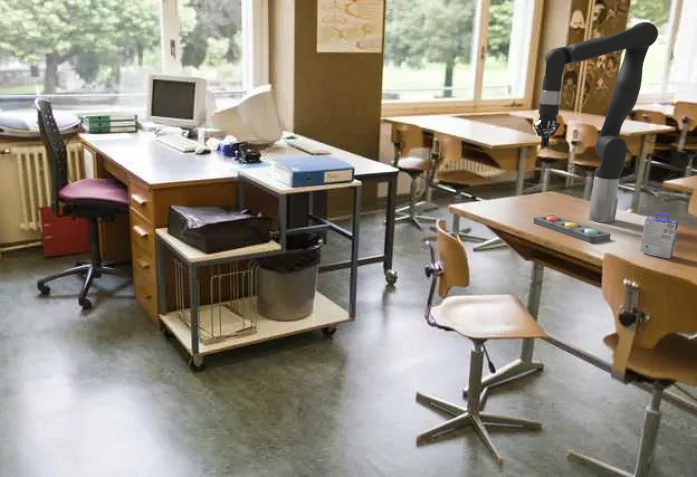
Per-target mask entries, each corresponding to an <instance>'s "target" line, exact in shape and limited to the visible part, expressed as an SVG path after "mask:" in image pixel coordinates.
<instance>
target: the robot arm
mask: <svg viewBox="0 0 697 477" xmlns="http://www.w3.org/2000/svg"><path fill="white" fill-rule="evenodd" d="M658 37H659V29H658V28H657V26H656V25H655V24H654V23H653V22H649V21H643V22H642V21H641V22H638V23H636V24H634V25H633V26H632V27H630V28H628V29H625V30H624V31H620V32H617V33H614V34H610V35H605V36H600V37H595V38H591V39H587V40H583V41H580V42H575V43H573V44H570V45H565V46H562V47H561V46H560V47H555V48H552V49H550V50H548V52H546V55H545V57H544V60H545V69H544V70H545V72H544V76H543V79H542V87H541V94H540V97H539V108H538V114H539V118H538V120H537V122H536V123H533V128H534V130H535V132H536V135H537V136H538V137H540V138H541V140H540V147H541V148H543V149H545V148H548V147H549V143H550V139H551V137H553V136H554V135H555V134H556V132H557V131H558V129H559V127H560V126H561V123H560V122H558V120H557V118H558V117H557V116H559V115H560V114H559V113H560V108H561V106H560V105H561V98H562V97H561V96H562V95H561V94H562V93H561V92H562V85H563V84H562V83H563V75H564V72H565V66H566V65H569V64H572V63H580V62H584V61H589V60H591V59H596V58H599V57H602V56H606V55H608V54H611V53H616V52H619V51H623V50H625V52H624V56H623V60H622V64H621V66H620V68H619V71H618V72H617V77H616V79H615V83H614V86H613V89H612V92H611V97H610V101H609V104H608V108H607V112H606V116H605V119H604V122H603V125H602V126H601V130H600V132H599V135H598V137H597V139H596V142H595V152H596V154H597V155H598V157H600V158H601V163H600V166H598V167H596V169H595V171H594V176H593V177H594V178H593V184H592V189H591V190H592V191H591V198H590V203H589V209H588V210H589V211H588V220H590V221H593V222H598V223H614V222H616V215H617V209H618V203H619V198H618V197H617V196H618V192H619V191H618V189H619V184H620V179H621V178H620V177H621V174H622V173H623V171H624V167H625V162H626V157H627V150H628V146H627V143H626V141H625V140H624V139H623V138H622V137H620V133H621V129H622V127H623V124H624V122H625V120H626V119H627V118H628V116H629V115H630V113H631V112H632V110H633V109H634V108H635V106H636V104H637V101H638V98H639V95H640V91H641V89H642V88H641V86H642V81H643V80H642V79H643V69H644V62H645V59H646V58H647V57H646V56H647V54H648V51H649V49H650V47H651V46H653V44H654V43H655V42H656V41H657V39H658Z"/></svg>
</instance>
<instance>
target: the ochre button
mask: <svg viewBox="0 0 697 477" xmlns="http://www.w3.org/2000/svg"><path fill="white" fill-rule="evenodd" d="M573 222H574V221H573ZM573 222H565V227H568V228H571V229H573V228H578V224H577V223H578V222H576V223H573Z"/></svg>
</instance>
